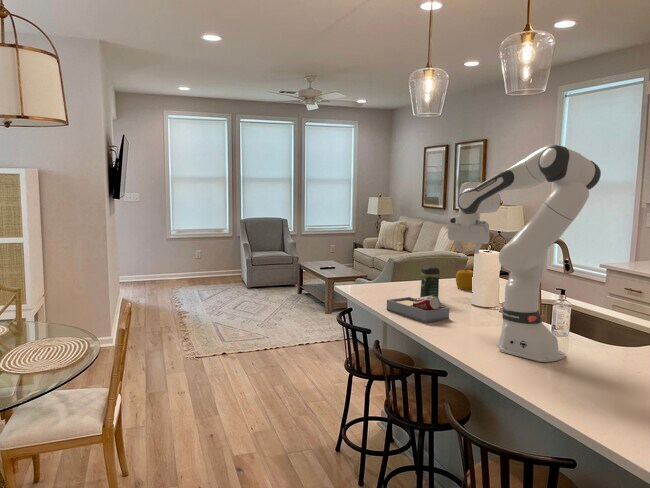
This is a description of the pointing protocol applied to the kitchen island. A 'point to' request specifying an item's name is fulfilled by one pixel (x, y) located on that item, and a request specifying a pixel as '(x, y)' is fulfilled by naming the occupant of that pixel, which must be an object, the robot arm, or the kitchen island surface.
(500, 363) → the kitchen island surface
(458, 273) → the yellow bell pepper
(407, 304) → the tan square block
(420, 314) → the tray
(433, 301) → the soda can
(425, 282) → the coffee jar
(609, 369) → the kitchen island surface
